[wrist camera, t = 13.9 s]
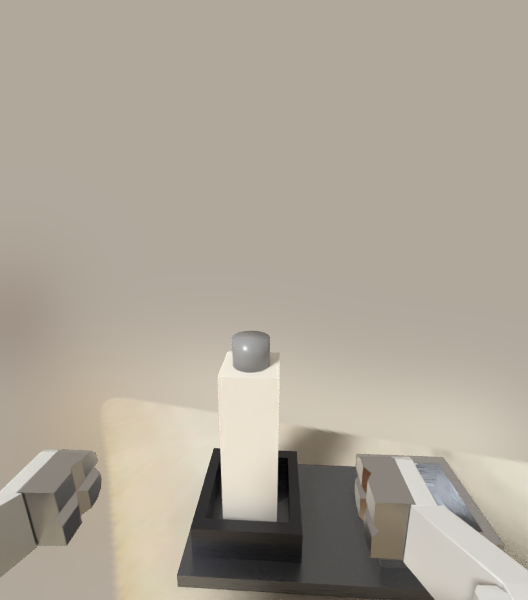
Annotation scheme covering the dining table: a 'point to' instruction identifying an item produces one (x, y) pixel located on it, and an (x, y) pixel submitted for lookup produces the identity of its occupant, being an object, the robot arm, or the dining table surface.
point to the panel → (310, 535)
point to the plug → (249, 428)
